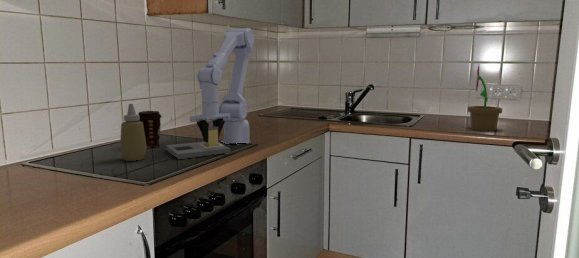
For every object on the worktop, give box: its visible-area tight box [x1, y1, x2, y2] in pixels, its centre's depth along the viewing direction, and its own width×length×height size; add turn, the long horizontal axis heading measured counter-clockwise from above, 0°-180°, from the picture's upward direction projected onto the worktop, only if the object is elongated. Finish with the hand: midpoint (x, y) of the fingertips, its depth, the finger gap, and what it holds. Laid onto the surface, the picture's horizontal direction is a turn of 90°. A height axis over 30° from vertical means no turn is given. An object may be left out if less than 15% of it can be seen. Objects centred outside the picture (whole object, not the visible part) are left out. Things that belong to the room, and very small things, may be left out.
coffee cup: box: [137, 110, 163, 149], centre depth 153 cm, size 9×8×13 cm
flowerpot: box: [467, 64, 503, 132], centre depth 191 cm, size 14×14×30 cm
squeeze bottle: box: [119, 103, 148, 162], centre depth 133 cm, size 8×8×18 cm
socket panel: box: [165, 141, 232, 159], centre depth 145 cm, size 18×16×2 cm
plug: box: [203, 124, 219, 147], centre depth 147 cm, size 4×4×8 cm
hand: (211, 140), depth 147 cm, fingers closed on plug, 3 cm apart
